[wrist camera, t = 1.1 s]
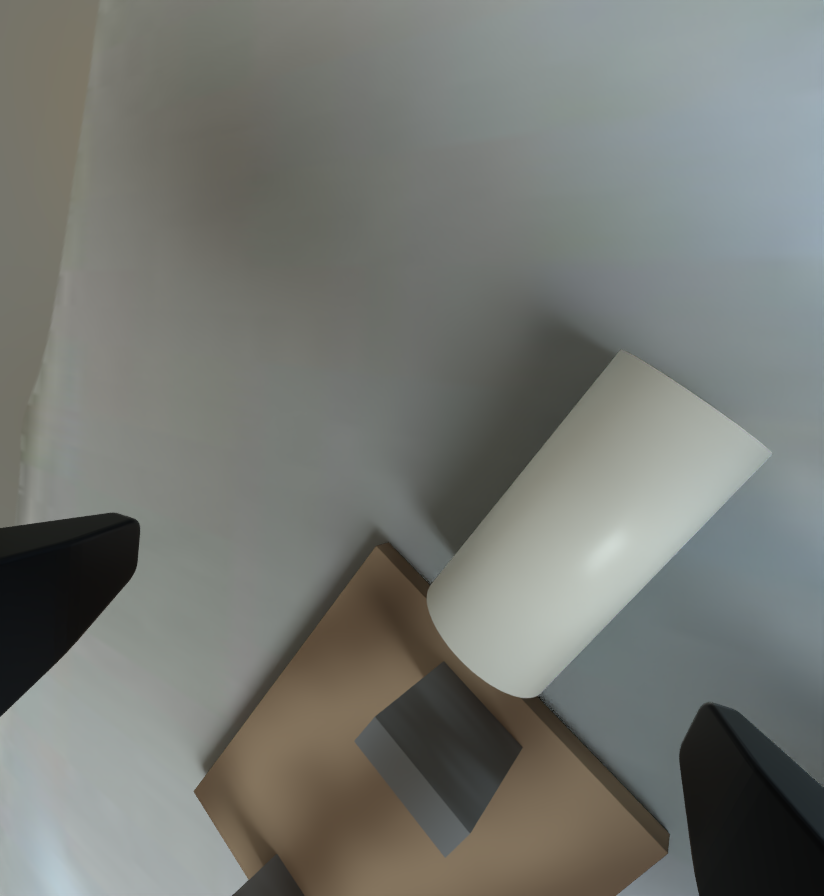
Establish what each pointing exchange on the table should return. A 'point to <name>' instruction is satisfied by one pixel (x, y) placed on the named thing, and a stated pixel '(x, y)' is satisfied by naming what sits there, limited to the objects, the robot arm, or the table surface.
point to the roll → (588, 525)
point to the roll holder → (415, 771)
